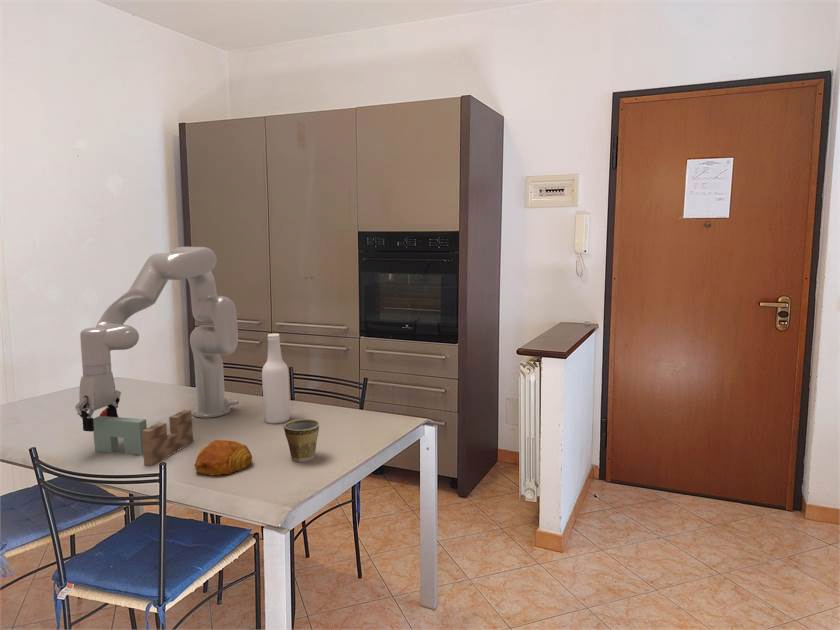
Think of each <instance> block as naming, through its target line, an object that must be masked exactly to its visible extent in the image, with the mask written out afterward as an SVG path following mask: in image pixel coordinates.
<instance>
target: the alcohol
mask: <svg viewBox="0 0 840 630" xmlns="http://www.w3.org/2000/svg"><path fill="white" fill-rule="evenodd" d="M280 335H281V334H279V333H268V334H267V360H266V362H265V363H264V365H263V367H262V371H261V381H262V403H263V419H264V421H265V422H266V423H267V424H271V425H273V424H274V425H276V424H278V425H279V424H283V423H287V422H289V420H290V418H291V403H290V402H291V400H290V399H291V397H290V378H289V377H290V374H289V368H288V365H287V364H286V362H284V360H283V357H282V348H281V342H280V341H281V340H280V339H281V338H280Z"/></svg>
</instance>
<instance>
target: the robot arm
mask: <svg viewBox="0 0 840 630" xmlns="http://www.w3.org/2000/svg"><path fill="white" fill-rule="evenodd" d="M217 261H218V260H217V256H216V253H215V252H214V250H213V249H211V248H209V247H204V246H178V247H175V248H174V249H172V251H171V252H170V253H165V252H158V253H153V254H151V255H150V256H148V258H147V260H146V261H145V263H144V265H143V266H142V268H141V269H140V271H139V273H138V274H137V276H136V277H135V279H134V281H133V283H132V284H131V286H130V288H129V289H128V290H127V291H126V292H125V293H123V295H121V296H120V297H118V298H117V299H116V300H115V301H114V302H112V304H110V305H109V306H108V307H107V308H106V309H105V311H104V312H103V314H102V315H101V317H100V319H99V320H98V321H97V324H96V326H95V327H87V328H84V329H82V330H81V331H80V334H79V337H80V338H79V339H80V350H81V353H80V354H81V366H82V368H81V369H82V376H81V377H80V382H79V393H78V395H79V402H78V403H77V404H76V405H75V408H74V409H75V410H76V412H77V415H79V416H80V418H81V419H82V431H84V432H93V431H94V422H93V419H94V418H93V414H94V412H95V411H97V410H100V409H102V408H106V407H108V408H107V417H117V414H118V408H119V403H120V399H121V395H122V391H120V390H118V389H116V385H115V384H116V383H115V378H114V375H113V374H114V373H113V371H112V357H111V355H112V354H111V351H123V350H124V351H125V350H129V349H133V347H135V346H136V345H137V344H138V342H139V339H140V335H139V334H140V333H139V332H138V329H136V328H134V327H133V326H131V325H128V324H125V322H127V320H128V319H129V318H131V317H132V316H133V315H135V314H137V313H140V312H142V311H143V310H146V309H148V308H150V307H152V306H153V305H155V304H156V303H157V301H158V299H159V297H160V295H161V293H162V292H163V290H164V288H165V287H166V285H167V283H168V282H169V281H183V280H187V282H188V285H189V290H190V303H191V313H192V316H193V319H195V320H196V321H198V322H203V323H210V324H213V325H207V324H206V325H199V326H197V327H195V328H194V329H193V330H192V332H191V333H190V337H189V343H190V345H189V346H190V348H191V352H192V355H193V356H192V357H193V361H194V376H195V377H194V378H195V393H196V394H195V395H196V408H195V409H194V410H193V411H192V416H194V417H196V418H200V419H201V418H203V419H204V418H205V419H207V418H209V419H211V418H217V417H221V416H225V415H227V414H229V413H230V412H231V406H236V405H239V404H240V401H239V399H238V398H237V399H233V398H231V399H230V398H229V399H227V398H226V394H225V377H224V362H223V358H222V356H228V355H231V354H233V353H234V352H235V351H236V349H237V347H238V343H239V331H238V330H239V329H238V318H237V316H238V315H237V308H236V305H235V303H234V302H233V300H232V299H230V298H229V297H227V296H224V295H223V296H222V295H218V293H217V292H218V291H217V285H216V280H215V277H214V274H213V272H212V271H213V269H215V267H216V265H217ZM221 355H222V356H221Z"/></svg>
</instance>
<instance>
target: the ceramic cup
mask: <svg viewBox="0 0 840 630" xmlns="http://www.w3.org/2000/svg"><path fill="white" fill-rule="evenodd" d="M319 429H320V422H319V421H318V420H315V419H311V418H310V419H309V418H302V419H294V420H290V421H287V422H285V424H283V431H284V434H285V438H286V440H287V443H288V447H289V452H290V458H291V460H292V461H293V462H296V461H297V463H305V462H310V461H312V460H313V459H315V456H316V449H317V441H318V438H319V437H318V436H319Z"/></svg>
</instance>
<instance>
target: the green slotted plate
mask: <svg viewBox="0 0 840 630" xmlns="http://www.w3.org/2000/svg"><path fill="white" fill-rule="evenodd" d="M93 422H94V431H92V432H93V443H94V451H95V452H98V451H104V452H103V453H109V452H112V453H114V452H116V451H118V450H120V449H119V438H121V439H123V445H124V446H123V448H124V454H125V453H127V454H126V455H132V454H137V455H136V456H143V455H144V454H143V441H142V431H143V430H145V429H147V428H148V427H147V419H144V418H133V417H122V416H121V417H119V416H118V417H107V416H99V415H98V416H96V417H94V418H93ZM117 449H118V450H117ZM115 450H116V451H115ZM113 451H114V452H113ZM138 454H139V455H138ZM142 454H143V455H142Z"/></svg>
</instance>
